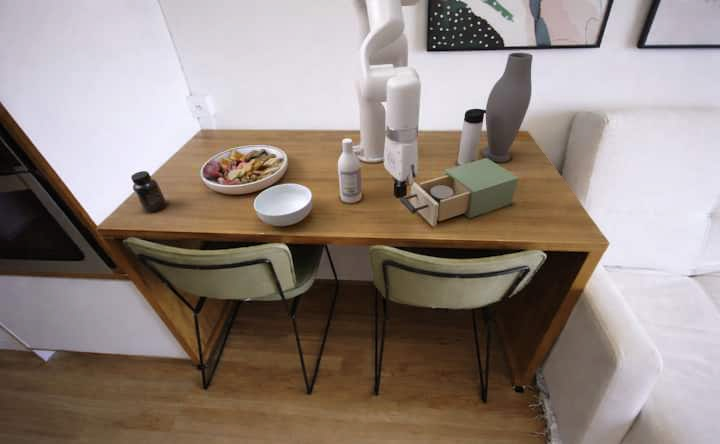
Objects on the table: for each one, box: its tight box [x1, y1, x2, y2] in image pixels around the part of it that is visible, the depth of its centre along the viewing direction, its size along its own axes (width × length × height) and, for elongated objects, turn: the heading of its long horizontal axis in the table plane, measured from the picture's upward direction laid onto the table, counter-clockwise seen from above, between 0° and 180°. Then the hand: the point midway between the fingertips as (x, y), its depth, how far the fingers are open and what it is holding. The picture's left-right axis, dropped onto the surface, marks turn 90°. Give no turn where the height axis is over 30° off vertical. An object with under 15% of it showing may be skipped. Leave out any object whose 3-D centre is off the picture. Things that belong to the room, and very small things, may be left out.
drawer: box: [399, 175, 472, 227], centre depth 100 cm, size 20×13×7 cm, turn 114°
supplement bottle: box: [130, 170, 168, 213], centre depth 108 cm, size 7×7×12 cm
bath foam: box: [337, 137, 363, 204], centre depth 105 cm, size 7×7×20 cm
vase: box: [481, 52, 534, 163], centre depth 118 cm, size 13×13×35 cm
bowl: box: [200, 144, 289, 195], centre depth 123 cm, size 30×30×8 cm
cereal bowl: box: [253, 183, 314, 227], centre depth 102 cm, size 17×17×7 cm
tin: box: [430, 185, 454, 212], centre depth 101 cm, size 7×7×5 cm
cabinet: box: [443, 157, 519, 219], centre depth 104 cm, size 16×14×9 cm
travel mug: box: [457, 108, 486, 166], centre depth 118 cm, size 6×7×20 cm
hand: (400, 195), depth 93 cm, fingers closed
